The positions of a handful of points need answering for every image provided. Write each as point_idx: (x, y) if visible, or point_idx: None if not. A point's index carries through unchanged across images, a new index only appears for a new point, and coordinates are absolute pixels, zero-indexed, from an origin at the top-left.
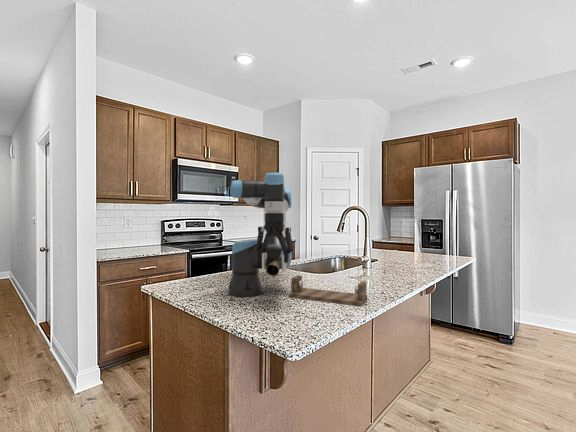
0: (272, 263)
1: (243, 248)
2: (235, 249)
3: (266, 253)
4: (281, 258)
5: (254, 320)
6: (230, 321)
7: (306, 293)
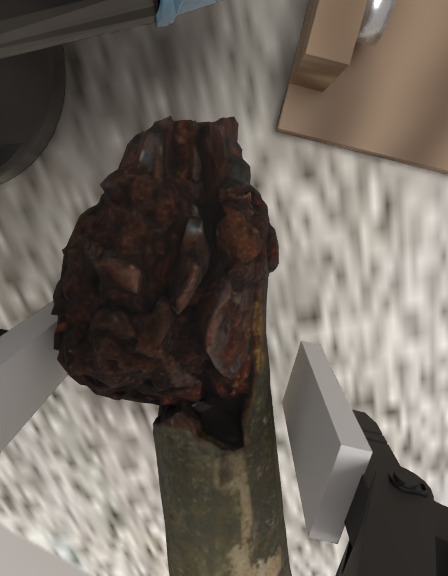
0: None
1: None
2: None
3: (5, 374)
4: (249, 276)
5: None
6: (103, 549)
7: (405, 95)
